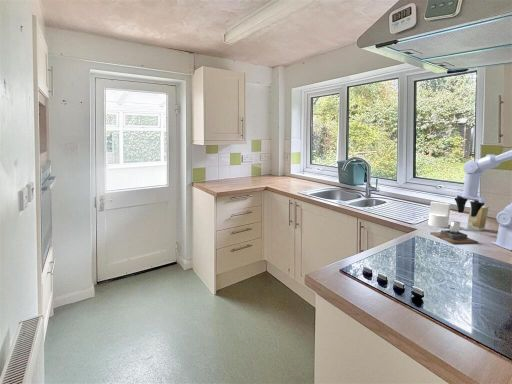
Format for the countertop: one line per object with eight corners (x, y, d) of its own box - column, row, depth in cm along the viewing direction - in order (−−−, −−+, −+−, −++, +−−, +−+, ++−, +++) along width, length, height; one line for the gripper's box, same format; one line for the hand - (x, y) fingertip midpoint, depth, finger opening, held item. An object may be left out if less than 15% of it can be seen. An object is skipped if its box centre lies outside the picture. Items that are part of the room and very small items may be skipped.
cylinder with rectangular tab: (425, 224, 160) (428, 202, 158) (431, 221, 166) (433, 200, 164) (444, 228, 154) (447, 205, 152) (450, 225, 160) (452, 203, 158)
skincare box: (466, 227, 156) (469, 204, 154) (472, 226, 158) (475, 204, 156) (479, 231, 150) (483, 207, 148) (485, 230, 152) (488, 206, 150)
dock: (477, 243, 132) (478, 237, 132) (453, 244, 131) (454, 238, 130) (453, 233, 146) (453, 227, 145) (430, 234, 144) (431, 228, 144)
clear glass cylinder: (459, 237, 138) (461, 222, 136) (456, 238, 136) (458, 223, 134) (450, 235, 141) (452, 220, 139) (447, 236, 138) (449, 221, 137)
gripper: (492, 189, 136) (487, 218, 139) (466, 184, 150) (462, 210, 153) (478, 189, 135) (474, 218, 138) (453, 184, 149) (449, 210, 152)
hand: (467, 214), depth 145 cm, fingers open, 7 cm apart
